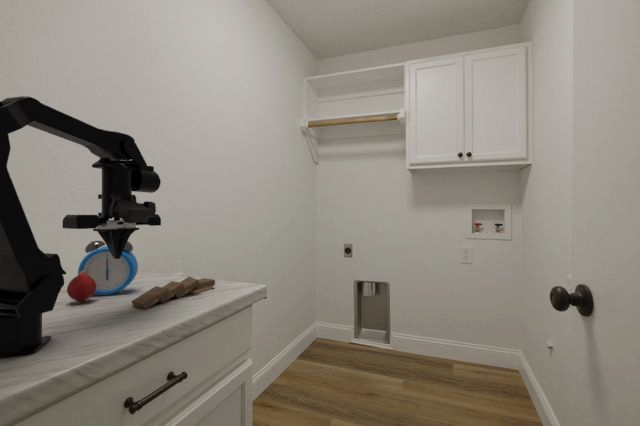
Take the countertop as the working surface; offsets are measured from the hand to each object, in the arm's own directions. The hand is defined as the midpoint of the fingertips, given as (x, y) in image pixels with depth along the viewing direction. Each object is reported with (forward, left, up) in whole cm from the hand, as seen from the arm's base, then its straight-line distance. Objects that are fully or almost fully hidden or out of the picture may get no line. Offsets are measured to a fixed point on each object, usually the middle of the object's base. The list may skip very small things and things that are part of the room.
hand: (116, 258), depth 70 cm
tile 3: (+10, -11, -12) cm, 19 cm away
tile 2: (+7, -7, -12) cm, 15 cm away
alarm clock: (+20, +7, -13) cm, 25 cm away
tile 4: (+14, -15, -11) cm, 23 cm away
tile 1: (+2, -4, -12) cm, 13 cm away
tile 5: (+14, -15, -12) cm, 24 cm away
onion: (+12, +11, -13) cm, 21 cm away
